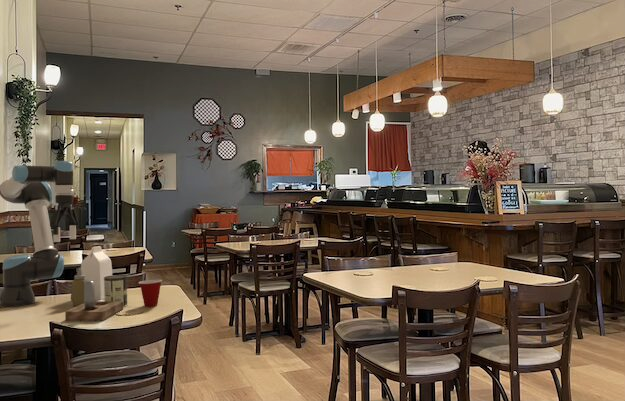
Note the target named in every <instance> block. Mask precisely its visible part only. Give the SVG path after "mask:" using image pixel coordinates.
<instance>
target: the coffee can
mask: <svg viewBox="0 0 625 401" xmlns="http://www.w3.org/2000/svg"><path fill="white" fill-rule="evenodd" d="M104 295H105V299H104V301H121V302H123V308H125V307H127V306H128V276H127V275H125V274H115V275H113V274H112V276H106V277H104Z"/></svg>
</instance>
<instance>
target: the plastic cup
mask: <svg viewBox="0 0 625 401" xmlns="http://www.w3.org/2000/svg"><path fill="white" fill-rule="evenodd" d="M162 281H163V279H148V280H142V281H139V282H138V284H139V286H140V291H141V295H142V299H143V300H142V301H143V304H144V307H147V308H151V307H156V306H158V303H159V296H160V290H161V285H162Z"/></svg>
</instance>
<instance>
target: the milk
mask: <svg viewBox="0 0 625 401" xmlns="http://www.w3.org/2000/svg"><path fill="white" fill-rule="evenodd" d="M112 265H113V264H112V260H111V258H110V257H109V256H108V255H107V254H106V253H105V252H104V251H103V248H102V246H99V245H98V246H93V247H92V246H91V251H90V253H89V254H88V255H87V256H86V257H85V258H84V259H83V260H82V261H81V264H80V268H81V270H82V274H83V275H85V279H86V280H87V281H94V293H95V301H102V300H105V295H104V277H106V276H112V275H113V266H112Z"/></svg>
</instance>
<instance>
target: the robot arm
mask: <svg viewBox="0 0 625 401" xmlns="http://www.w3.org/2000/svg"><path fill="white" fill-rule="evenodd" d="M49 183H55V185H54V193H55V198H54V199H55V203H56V204H57V205H56V204H55V205H54V206H53V211H52V215H51V219H50V217H49V216H50V215H49V211H48V207H49V206H50V204H51V203H52V202H53V190H52V188H51V185H50V184H49ZM74 189H75V188H74V163H73V162H72V161H69V160H67V161H66V160H57V161H55V163H54V166H53V165H51V166H50V165H24V164H20V165H14V166H13V168H12V172H11V177H9V179H6V180H4V181H2V183H1V184H0V197H1V198H2V199H3V200H4V201H7V202H8V203H11V204H23V205H24V207H25V209H27V210H28V212H29V219H30V224H31V225H30V226H31V231H32V237H33V244H34V250H35V251H34V252H33V253H32V255H31V254H29V253H24V254H23V253H22V254H16V255H11V256H8V257H6V258H4V259H3V261H2V280H3V282H2V283H3V284H2V286H3V289H2V291H1V294H0V307H5V308H6V307H9V308H10V307H20V306H28V305H31V304H34V303H35V302H36V297H35V293H34V291H33V289H32V281H36V280H37V281H38V280H48V279H54V278H59V277H61V275H62V274H63V273H64V272H63V271H64V268H65V259H64V255H63V254H62V253H59V250H58V249H57V248H55V244H54V243H60V242H61V227H60V225H61V222H62V220H63V218H64V216H66V218H67V220H68V222H69V224H70V225H69V240H76V239H77V226H79V224H80V223H79V219H78V214H77V211H76V205H75V204H73V203H74V195H73V194H74ZM52 229H53V230H52ZM52 232H53V234H52Z"/></svg>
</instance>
